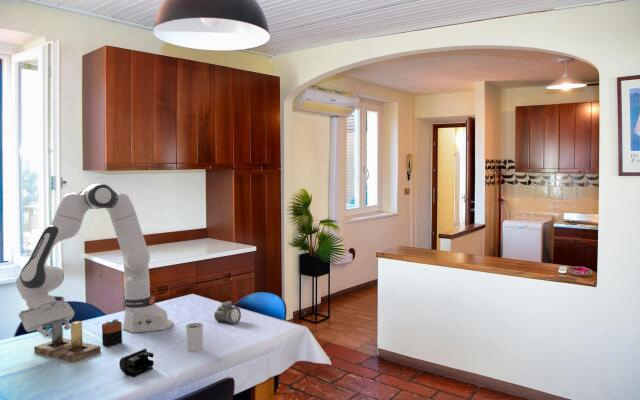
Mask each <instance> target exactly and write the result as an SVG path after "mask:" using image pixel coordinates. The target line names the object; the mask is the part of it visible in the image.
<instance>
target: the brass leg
mask: <svg viewBox="0 0 640 400" xmlns="http://www.w3.org/2000/svg"><path fill="white" fill-rule="evenodd" d="M70 338H71V339H70V340H71V346H72V352H78V351H81V350H83V343H84V342H83V322H82V321H80V320H77V321H72V322H71V323H70Z"/></svg>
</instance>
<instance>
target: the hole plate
mask: <svg viewBox="0 0 640 400" xmlns="http://www.w3.org/2000/svg"><path fill="white" fill-rule="evenodd" d="M33 348H34V349H33V350H34V353H35V354H38V355H42V356H46V357H52V358H55V359H59V360H63V361H66V362H71V363H77V362H79V361H82V360H83V359H84V360H85V359H87V358H89V357H92V356H94V355H97V354H99V353H101V346H100V345H96V344H92V343H87V342H83V350H81V351H78V352H72V346H71V339H69V338H65V337H63V345H62V346H59V347H56V348H55V347H52V340H50V341H47V342H45V343H41V344H38V345H36V346H33Z"/></svg>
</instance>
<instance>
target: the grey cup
mask: <svg viewBox="0 0 640 400" xmlns="http://www.w3.org/2000/svg"><path fill="white" fill-rule="evenodd" d="M185 328H186V342H187V351H188V352H191V353H195V352H200V351H203V335H204V334H203V333H204V332H203V329H204V324H203V323H201V322H192V323H188V324H186V326H185Z"/></svg>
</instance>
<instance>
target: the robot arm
mask: <svg viewBox="0 0 640 400" xmlns="http://www.w3.org/2000/svg"><path fill="white" fill-rule="evenodd" d="M90 209H91V210H92V209H93V210H100V209H105V210H106V211H107V212H108V214H109V217H110V220H111V224H112V227H113V229H114V234H115V236H116V238H117V242H118V245H119V248H120V251H121V255H122V257H123V258H122V259H123V275H124V276H123V278H124V280H123V281H124V298H123V308H124V309H123V310H124V319H123V322H122V323H123V324H122V331H123V330H124V331H127V332H130V333H132V334H133V333H144V332H154V331H155V332H156V331H163V330H164V331H165V330H168V329H169V328H171V327H172V325H173V324H174V322H173V320H172V319H169V318H168V314H167V311H166V310H165V309H164V308H162V307H161V306H159V305H158V304H156V301H155V298H156V297H155V296H152V295H151V290H150V289H151V285H150V284H151V282H150V279H151V278H150V270H149V263H150V261H151V255H150V252H149V249H148V246H147V244H146V243H147V242H146V239H145V237H144V235H143V234H144V233H143V231H142V229H141V225H140V221H139V218H138V216H137V212H136V210H135V207H134V205H133V203H132V200H131V199H130V197H129V196H128V194H125V193H122V192H119V193H117V192H116V191H115V190H114V189H113V188H111V187H110V185H107V184H104V183H95V184H91V185H89V186H87V187H85V188H84V189H82V191H80V192H79V193H76V192H70V193H67V194H65V195H64V196H63V197H62V199H61V201H60V203H59V204H58V207H57V209H56V211H55V215H53V216H54V217H53V219H52V221H51V222H50V224H49V225H48V226H47V227H46V228H45V229H44V230H43V232H42V234H41V236H40V237H39V239H38V241H37V243H36V245H35V247H34V249H33V251H32V253H31V255H30V256H29V257H30V258H29V259H28V261H27V262H26V264H25V265H24V266H23V267H22V269H21V271H20V274H19V275H18V277H17V279H16V281H15V284H16V288H17V291H18V293H19V294H20V296H21V298H22V299H23V300H24V301H25V303H26V307H27V308H28V309H24V310H21V311H20V312H19V313H18V318H19V319H20V320H21V323H22V327H24V330H25V331H26V332H28V333H29V332H34V331H37V333H39V334H41V335H42V336H43V338H47V337H49V335H50V332H49V330H47V331H45V330H46V329H44V328H47V327H48V326H51V322H52V321H55V320H62V324H64V325H63V329H64V331H68V330H71V324H70V320H72V319H73V317H74V316H75V311H74V309H73V308H72V307H71V305H70V304H69V303H68V302H67V301H65V300H66V299H65V296H60V295H59V296H57V295H50V292H52V291H54V290H55V289H57V288H59V287H60V286H61V285H62V283H63V282H64V277H65V276H64V275H65V274H64V271H63V270H62V268H60V267H58V266H54V265H46V263H47V261H48V259H49V257H50V254H51V253H52V251H53V249H54V247H55V246H56V245H57V244H58V243H59V242H61V241H64V240H65V241H66V240H69V239H71V238H73V237H75V236H76V235H78V233H79V231H80V230H81V227H82V223H83V220H84V218H85V215H86V213H87V212H88V210H90Z"/></svg>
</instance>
